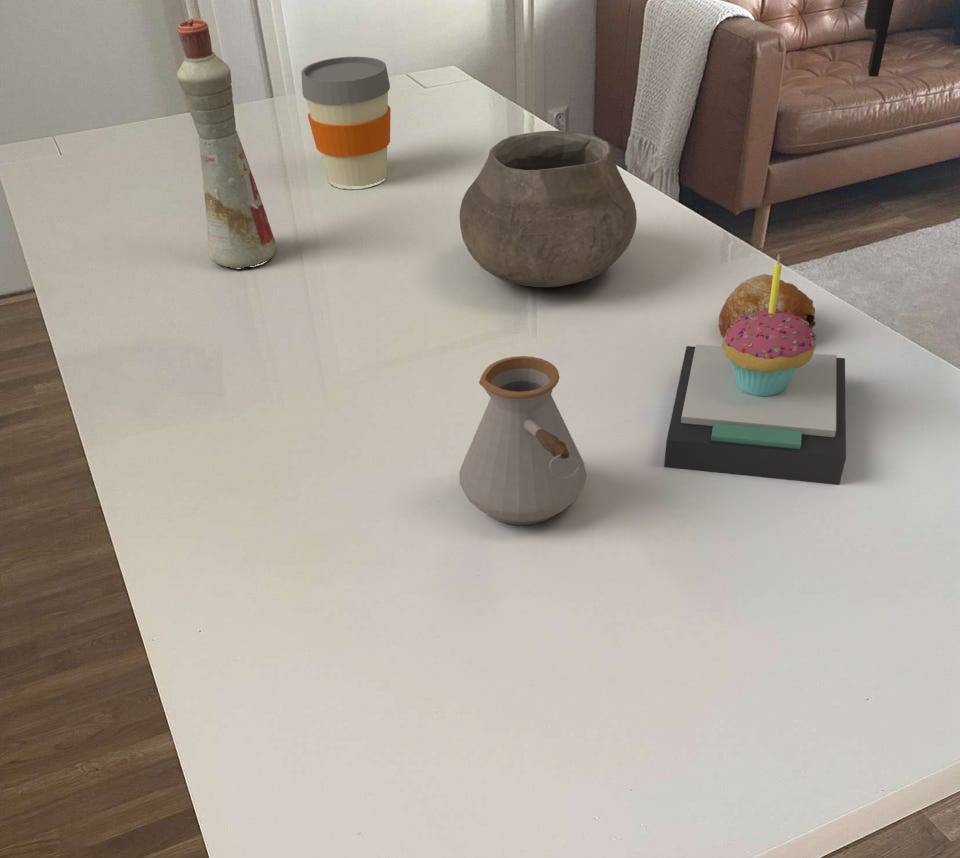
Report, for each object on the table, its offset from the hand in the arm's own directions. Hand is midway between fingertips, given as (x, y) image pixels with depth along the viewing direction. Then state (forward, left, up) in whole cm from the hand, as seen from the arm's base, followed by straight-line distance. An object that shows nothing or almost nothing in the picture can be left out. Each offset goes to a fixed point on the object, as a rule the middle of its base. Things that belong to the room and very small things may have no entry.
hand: (957, 74), depth 85 cm
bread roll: (+12, -8, -29) cm, 32 cm away
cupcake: (+12, +10, -25) cm, 30 cm away
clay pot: (+39, -19, -29) cm, 52 cm away
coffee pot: (+30, +32, -29) cm, 53 cm away
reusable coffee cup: (+74, -47, -29) cm, 92 cm away
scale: (+12, +11, -29) cm, 33 cm away
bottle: (+80, -18, -29) cm, 87 cm away
